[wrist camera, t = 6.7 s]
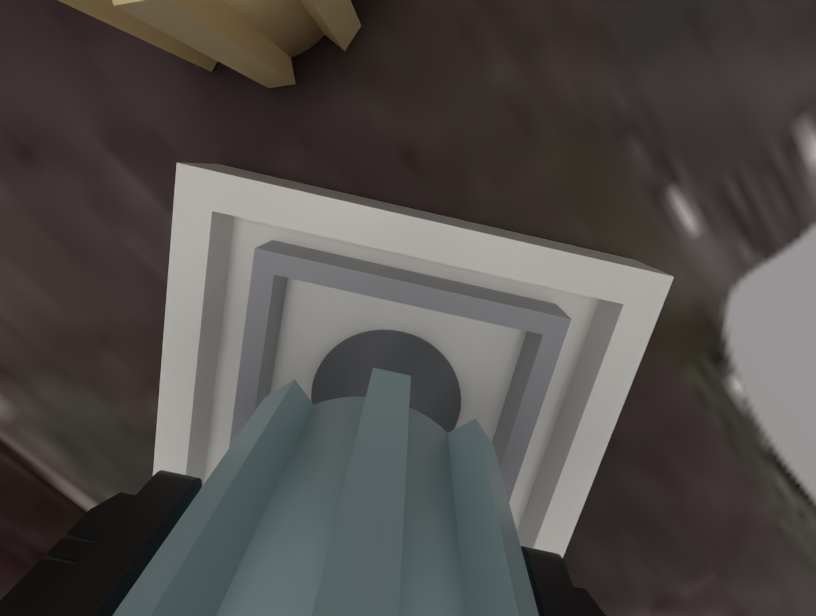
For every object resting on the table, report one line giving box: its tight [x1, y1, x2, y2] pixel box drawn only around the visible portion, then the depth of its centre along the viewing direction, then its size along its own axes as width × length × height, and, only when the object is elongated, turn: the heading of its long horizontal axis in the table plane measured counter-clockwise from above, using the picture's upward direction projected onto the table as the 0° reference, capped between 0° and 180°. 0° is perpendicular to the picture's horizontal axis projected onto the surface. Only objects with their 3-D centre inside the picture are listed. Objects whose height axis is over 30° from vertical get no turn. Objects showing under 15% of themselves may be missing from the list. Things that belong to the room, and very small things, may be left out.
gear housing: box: [153, 163, 674, 558], centre depth 16 cm, size 20×13×2 cm, turn 167°
